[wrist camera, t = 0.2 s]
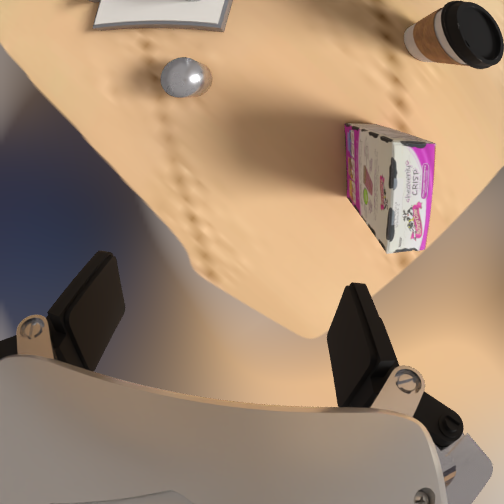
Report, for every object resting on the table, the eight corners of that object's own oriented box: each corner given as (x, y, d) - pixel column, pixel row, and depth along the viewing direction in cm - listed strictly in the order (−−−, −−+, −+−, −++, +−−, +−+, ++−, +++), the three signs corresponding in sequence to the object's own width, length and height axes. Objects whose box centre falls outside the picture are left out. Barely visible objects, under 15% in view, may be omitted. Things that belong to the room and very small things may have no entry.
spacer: (179, 61, 31) (165, 56, 26) (215, 65, 31) (206, 59, 26) (173, 94, 34) (157, 95, 28) (208, 99, 34) (197, 100, 29)
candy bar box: (377, 196, 39) (426, 252, 25) (346, 197, 40) (384, 256, 26) (377, 121, 34) (438, 143, 20) (343, 121, 34) (390, 141, 20)
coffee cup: (384, 32, 27) (439, 9, 14) (419, 10, 23) (478, -11, 10) (419, 79, 29) (484, 81, 17) (452, 55, 26) (517, 54, 13)
